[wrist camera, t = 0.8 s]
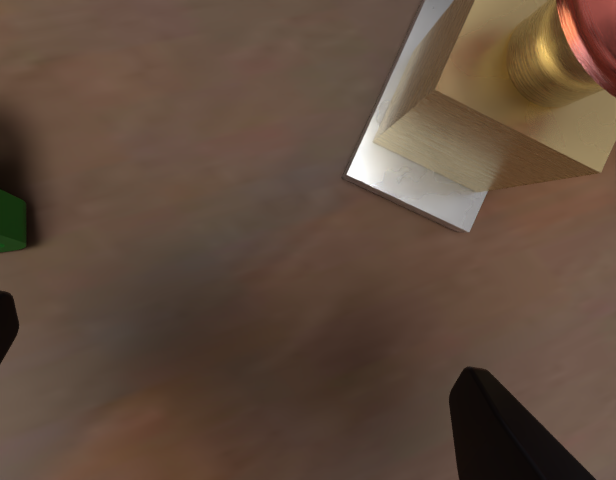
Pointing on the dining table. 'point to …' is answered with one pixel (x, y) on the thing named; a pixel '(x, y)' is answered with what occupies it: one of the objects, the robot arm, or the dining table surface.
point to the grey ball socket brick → (399, 170)
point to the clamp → (12, 222)
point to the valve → (509, 93)
